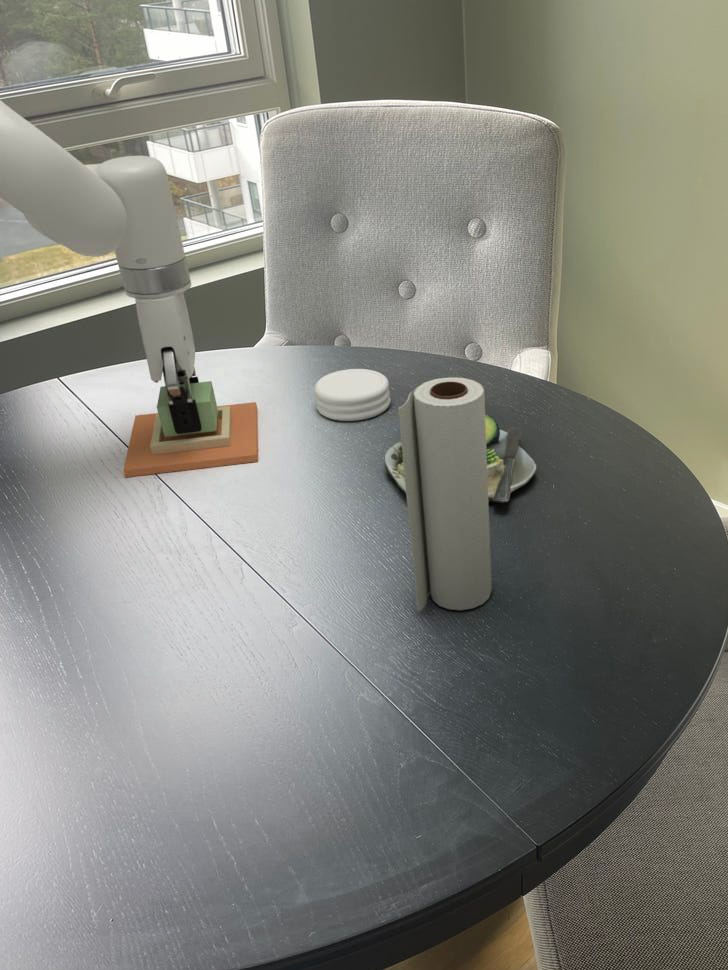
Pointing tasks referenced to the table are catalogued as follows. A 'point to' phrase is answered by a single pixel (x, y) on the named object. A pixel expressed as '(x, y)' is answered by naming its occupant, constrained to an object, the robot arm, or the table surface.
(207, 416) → the green block
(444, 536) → the paper towel roll
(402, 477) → the salad plate
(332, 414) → the coaster
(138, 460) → the base mat
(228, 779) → the table surface
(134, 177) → the robot arm
